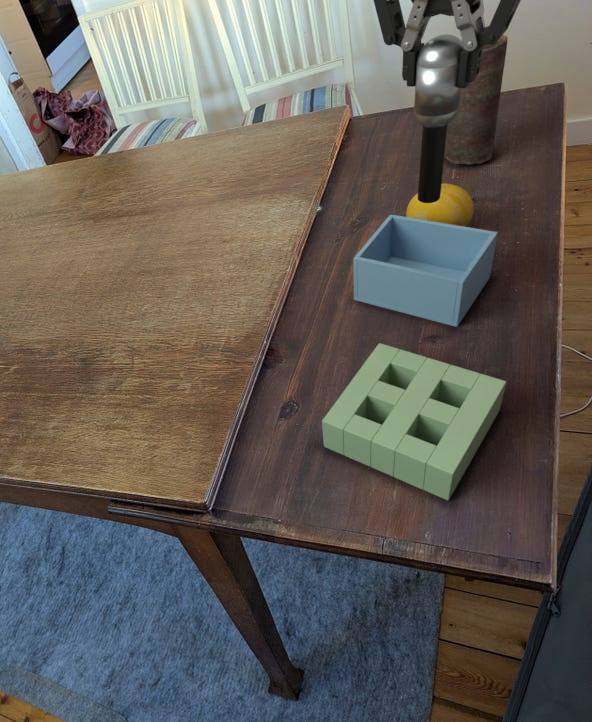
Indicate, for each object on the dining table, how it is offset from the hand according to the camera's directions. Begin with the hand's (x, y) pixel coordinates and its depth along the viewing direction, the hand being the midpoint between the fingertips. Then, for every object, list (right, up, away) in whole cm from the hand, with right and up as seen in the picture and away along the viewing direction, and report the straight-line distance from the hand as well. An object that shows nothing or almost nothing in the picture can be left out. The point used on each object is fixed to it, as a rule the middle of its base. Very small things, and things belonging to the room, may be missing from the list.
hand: (438, 83), depth 63 cm
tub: (+10, -19, +23) cm, 32 cm away
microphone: (+4, -10, +9) cm, 14 cm away
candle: (+28, +6, +42) cm, 51 cm away
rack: (+1, -37, +8) cm, 38 cm away
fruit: (+16, -10, +31) cm, 36 cm away
